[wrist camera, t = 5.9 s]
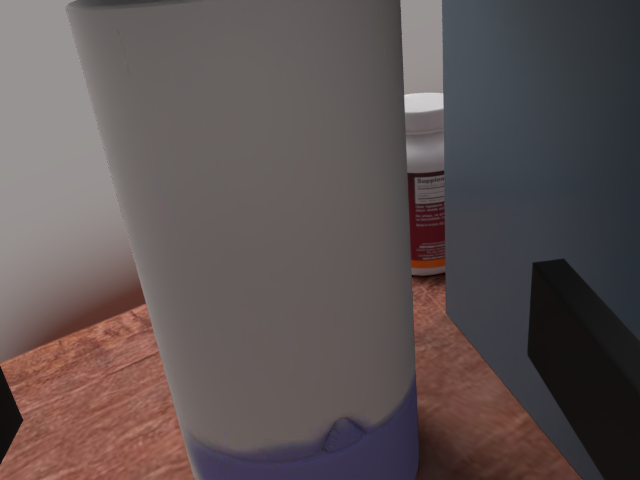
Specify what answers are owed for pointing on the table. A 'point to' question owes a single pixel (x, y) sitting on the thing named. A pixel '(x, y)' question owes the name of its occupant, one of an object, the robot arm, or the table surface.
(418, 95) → the pill bottle
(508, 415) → the table surface
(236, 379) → the container
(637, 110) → the shelf rack
